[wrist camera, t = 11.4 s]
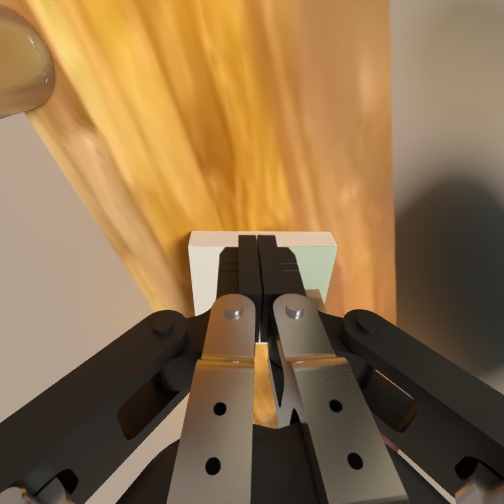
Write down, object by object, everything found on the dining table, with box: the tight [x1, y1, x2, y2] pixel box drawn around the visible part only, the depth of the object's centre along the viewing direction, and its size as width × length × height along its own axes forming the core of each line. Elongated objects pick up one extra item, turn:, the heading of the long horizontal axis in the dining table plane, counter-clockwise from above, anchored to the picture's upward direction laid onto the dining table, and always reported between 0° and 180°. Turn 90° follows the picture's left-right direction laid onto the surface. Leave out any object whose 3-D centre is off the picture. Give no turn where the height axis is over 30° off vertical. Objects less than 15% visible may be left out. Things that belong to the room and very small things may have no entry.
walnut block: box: [305, 289, 326, 314], centre depth 44 cm, size 4×4×4 cm
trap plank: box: [188, 231, 338, 344], centre depth 47 cm, size 20×20×4 cm
